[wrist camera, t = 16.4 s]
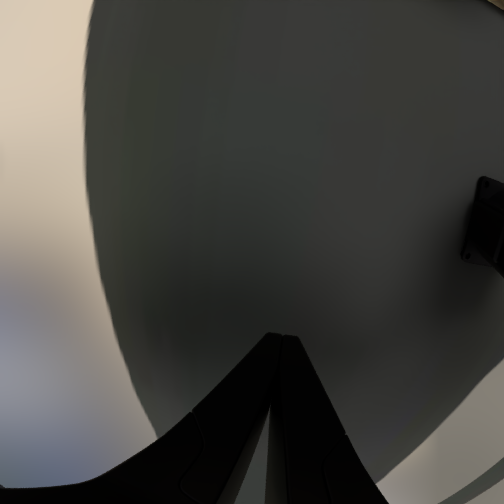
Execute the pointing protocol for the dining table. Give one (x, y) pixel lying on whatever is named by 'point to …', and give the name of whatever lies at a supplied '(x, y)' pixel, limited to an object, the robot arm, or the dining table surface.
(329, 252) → the dining table surface
